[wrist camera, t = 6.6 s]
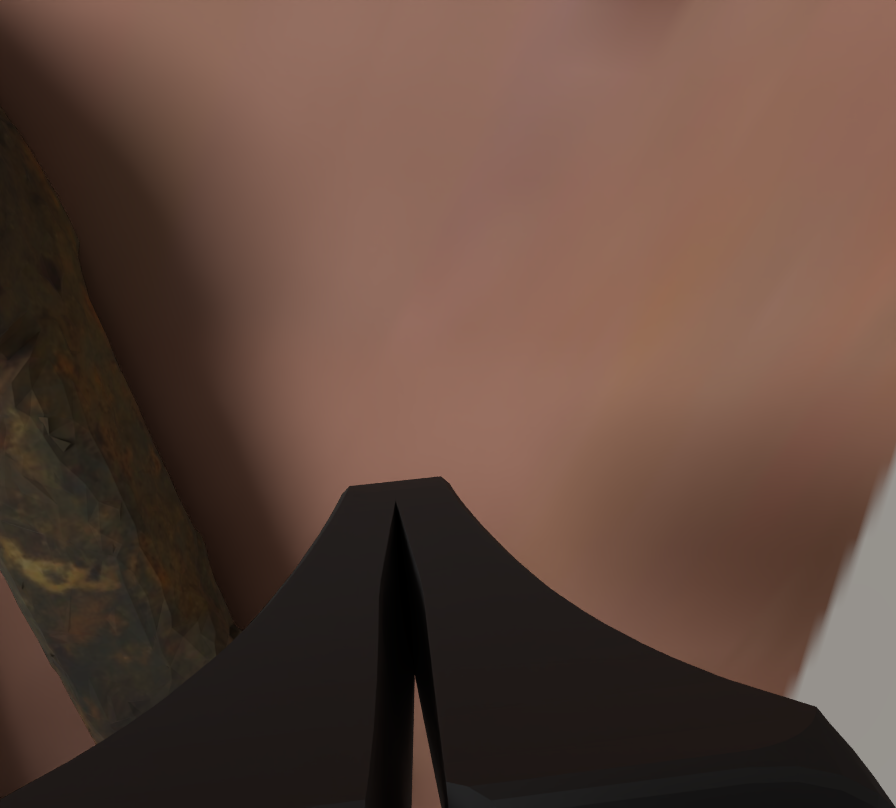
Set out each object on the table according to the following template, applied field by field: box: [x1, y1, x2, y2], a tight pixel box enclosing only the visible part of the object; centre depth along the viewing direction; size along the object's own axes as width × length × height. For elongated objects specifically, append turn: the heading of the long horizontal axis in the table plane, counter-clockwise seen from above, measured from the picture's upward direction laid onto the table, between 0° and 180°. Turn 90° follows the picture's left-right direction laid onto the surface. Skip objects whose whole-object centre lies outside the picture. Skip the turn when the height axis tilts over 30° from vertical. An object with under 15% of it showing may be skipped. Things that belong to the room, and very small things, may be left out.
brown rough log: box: [0, 107, 242, 745], centre depth 16 cm, size 19×4×5 cm, turn 12°
